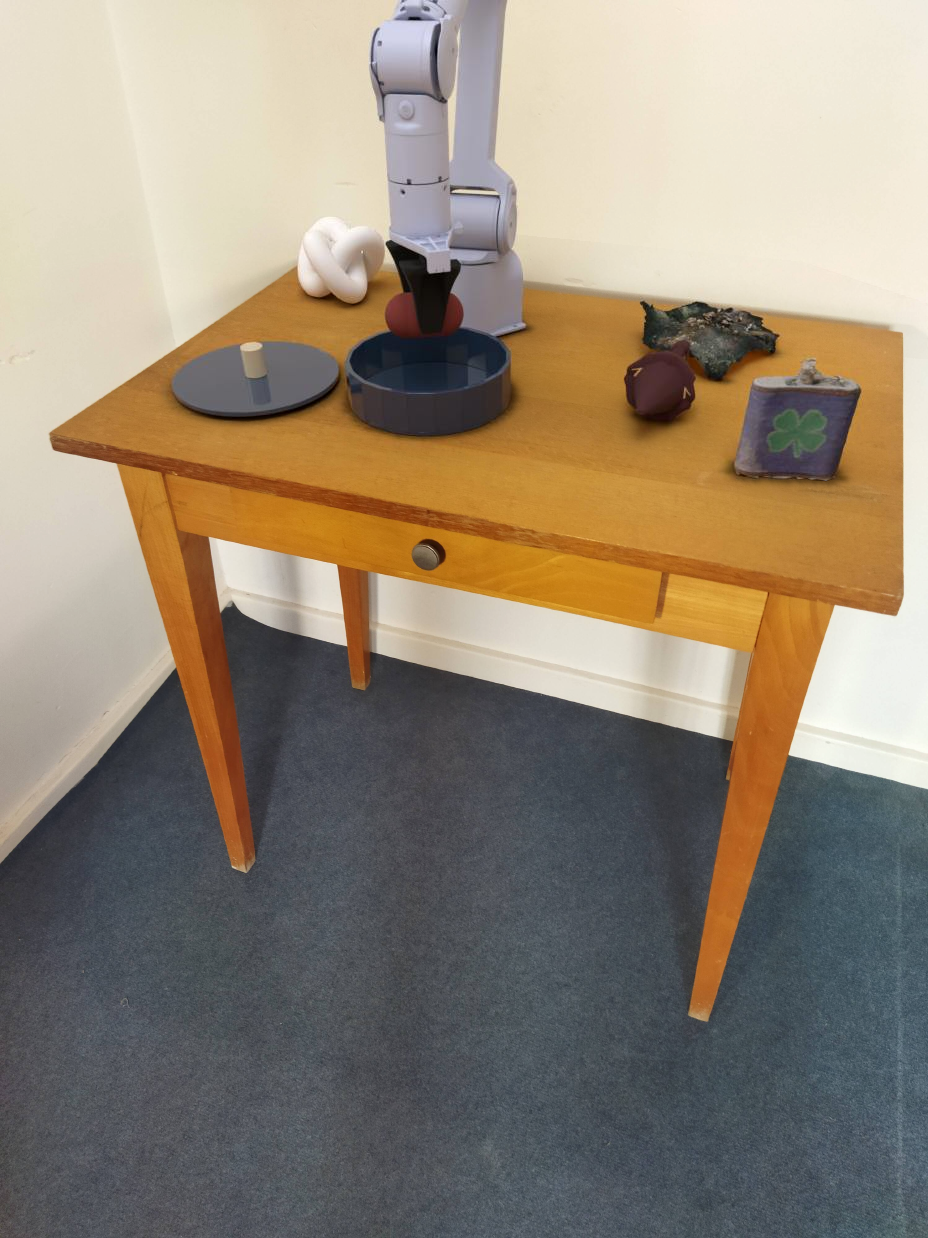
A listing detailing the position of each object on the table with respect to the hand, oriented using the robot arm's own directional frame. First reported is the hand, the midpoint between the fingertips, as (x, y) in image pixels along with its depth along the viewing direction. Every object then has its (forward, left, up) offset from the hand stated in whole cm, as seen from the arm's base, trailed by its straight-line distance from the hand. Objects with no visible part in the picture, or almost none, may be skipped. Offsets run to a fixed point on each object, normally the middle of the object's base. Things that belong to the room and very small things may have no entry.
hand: (425, 322), depth 89 cm
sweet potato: (0, 0, -1) cm, 1 cm away
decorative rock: (-34, +7, -8) cm, 36 cm away
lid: (+14, -14, -8) cm, 21 cm away
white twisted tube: (-7, -33, -8) cm, 34 cm away
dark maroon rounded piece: (-17, +17, -8) cm, 26 cm away
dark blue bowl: (0, 0, -8) cm, 8 cm away
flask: (-19, +32, -8) cm, 38 cm away
